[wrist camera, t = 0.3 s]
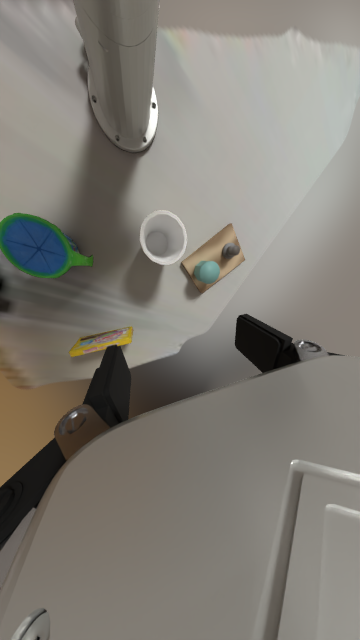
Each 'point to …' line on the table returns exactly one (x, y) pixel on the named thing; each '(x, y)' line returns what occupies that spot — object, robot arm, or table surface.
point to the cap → (207, 271)
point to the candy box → (102, 341)
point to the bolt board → (216, 255)
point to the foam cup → (163, 237)
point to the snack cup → (39, 246)
